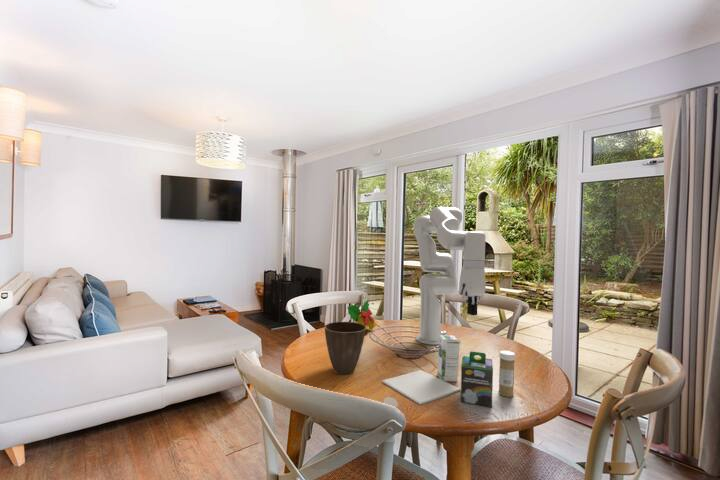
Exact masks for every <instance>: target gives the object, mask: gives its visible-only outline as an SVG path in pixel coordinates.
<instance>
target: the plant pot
mask: <svg viewBox="0 0 720 480" xmlns="http://www.w3.org/2000/svg"><path fill="white" fill-rule="evenodd" d="M365 329H366V327H365V326H364V325H362V324H359V323H357V322H356V323H355V321H354V322H353V321H335V322H330V323H326V324H325V325H324V335H325V343H326V347H327V351H328V356H329V360H330V364H331V367H332V369H333V372H334V373H336V374H339V375H350V374H353V373H354V372H355V370H356V367H357V365H358V362H359V360H360V357H361V353H362V349H363V345H364V340H365V336H366V331H365Z"/></svg>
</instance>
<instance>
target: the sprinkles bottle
mask: <svg viewBox="0 0 720 480" xmlns="http://www.w3.org/2000/svg"><path fill="white" fill-rule="evenodd" d="M515 360H516V353H515V352H513V351H510V350H500V351H499V368H498V370H499V374H498V375H499V376H498V391H497V392H498V393H499V395H500V396H503V397H508V398H509V397H511V398H512V397H513V396H514V395H515V394H514V385H515Z"/></svg>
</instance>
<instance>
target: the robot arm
mask: <svg viewBox="0 0 720 480" xmlns="http://www.w3.org/2000/svg"><path fill="white" fill-rule="evenodd" d="M428 214H429V215H420V216H418V217H416V218H415V220H414V222H413V233H414V237H415V240H416V242H417V246H418V254H419V255H418V256H419V264H420V268H421V270H422V272H425V273H429V274H424V275H422V276H421V277H420V278H419V282H418V283H419V284H418V285H419V291H420V293H419V294H420V311H419V312H420V313H419V334H418V335H417V336H416V337H415V340H416V341H417V342H418V343H420V344H424V345H430V346H431V345H433V346H434V345H436V346H437V345H438V346H439V336H440V335H448V334H447V331H446V330H443V331H442V330H441V318H442V317H441V314H442V304H441V300H440V299H439V298H438V296H439V295H443V296H444V295H453V294H455V293H456V290H457V276H456V268H455V263H454V259H453V257H452V254H449V253H448V252H438V251H437V244H436V242H435V240H434V238H432V236H431V235H430V234H436V239H437V241H438V243H439V244H440V245H441V247H443V248H444V249H445V250H448V251H463V254H462V255H463V258H462V259H463V260H462V264H463V265H462V268H461V271H460V275H459V283H458V285H459V286H458V294H459V295H460V296H461V299H462V300H465V302H466V303H465V304H466V305H467V307H466V309H467V310H466V311H467V312H466V314H467V315H471V316H478V305H479V302H480V299H482V298H484V295H485V294H486V289H487V288H486V286H487V285H486V281H487V280H486V272H485V267H486V266H485V260H486V257H485V256H486V233H484V232H483V231H466V230H458V229H459V227H460V224H461V223H462V221H463V214H462V211H461V210H460V209H459V208H457V207H451V206H450V207H449V206H436V207H433V208H432V209H431V210H430V211H429V213H428ZM430 273H431V274H430ZM435 273H436V274H435ZM437 273H440V274H437ZM437 295H438V296H437Z"/></svg>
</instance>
